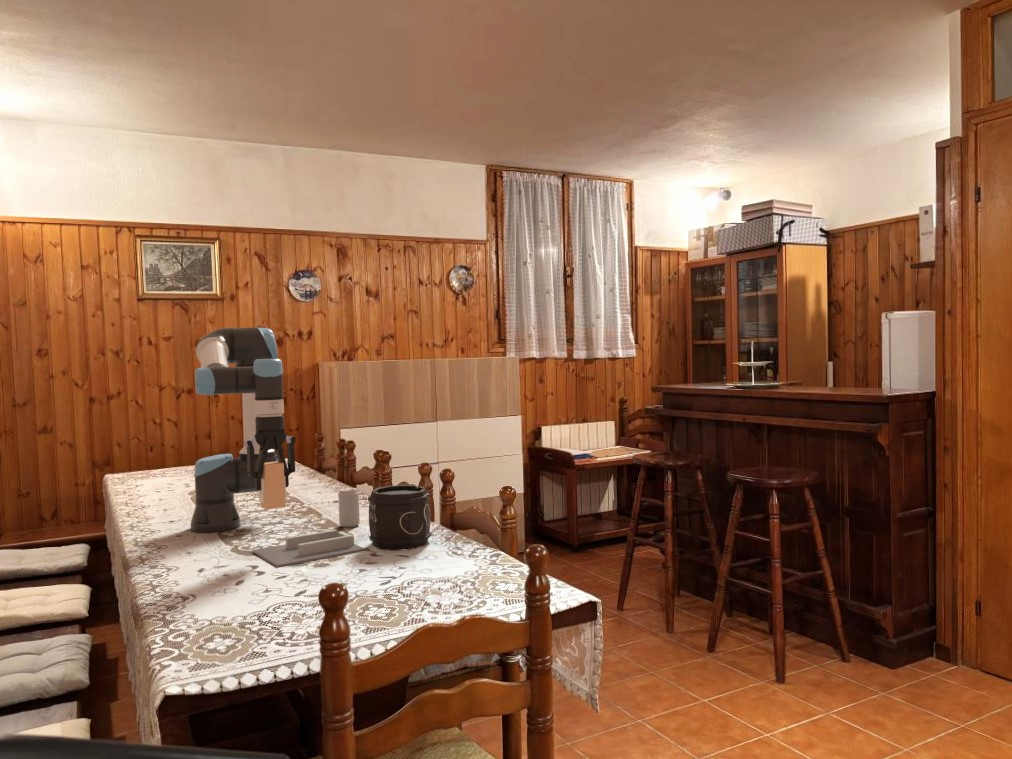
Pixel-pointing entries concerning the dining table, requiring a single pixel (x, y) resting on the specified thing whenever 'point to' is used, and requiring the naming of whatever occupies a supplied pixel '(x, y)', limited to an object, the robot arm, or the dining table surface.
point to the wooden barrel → (399, 517)
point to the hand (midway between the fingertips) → (272, 500)
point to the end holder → (310, 548)
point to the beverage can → (349, 507)
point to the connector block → (274, 485)
